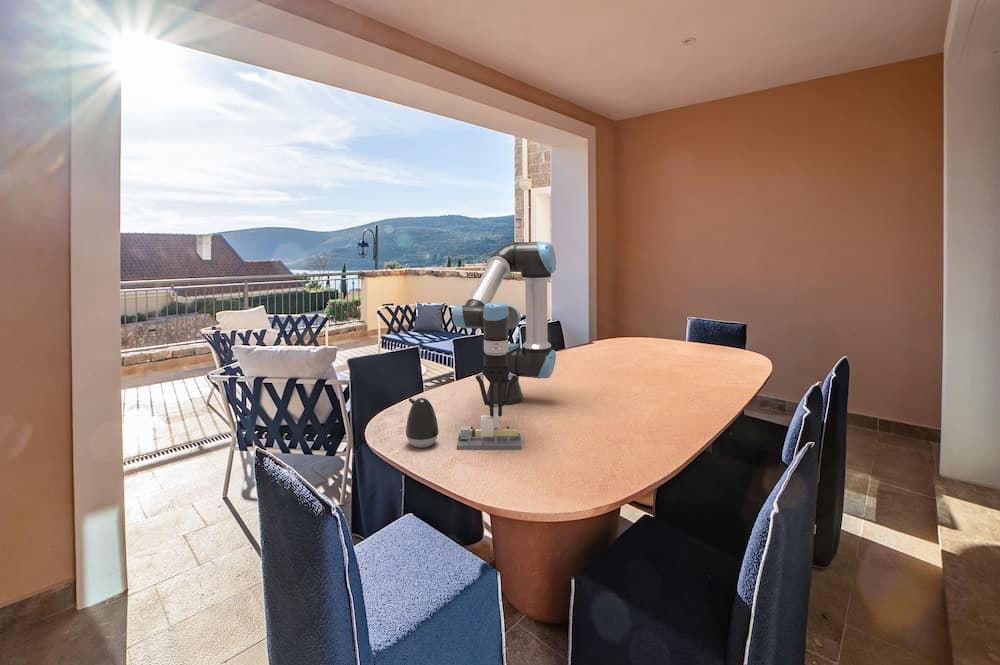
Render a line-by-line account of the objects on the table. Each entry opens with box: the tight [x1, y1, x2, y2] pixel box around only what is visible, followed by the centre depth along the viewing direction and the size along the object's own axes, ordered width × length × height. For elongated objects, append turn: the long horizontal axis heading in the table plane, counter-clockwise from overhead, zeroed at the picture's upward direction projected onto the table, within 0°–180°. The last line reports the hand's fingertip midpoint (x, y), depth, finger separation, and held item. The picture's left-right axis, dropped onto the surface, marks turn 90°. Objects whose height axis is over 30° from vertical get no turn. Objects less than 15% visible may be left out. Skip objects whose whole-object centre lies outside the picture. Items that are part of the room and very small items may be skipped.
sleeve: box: [480, 414, 495, 437], centre depth 155 cm, size 4×4×6 cm
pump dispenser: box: [405, 397, 439, 449], centre depth 153 cm, size 10×10×15 cm
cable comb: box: [456, 425, 523, 450], centre depth 155 cm, size 20×11×5 cm, turn 90°
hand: (495, 425), depth 155 cm, fingers closed
